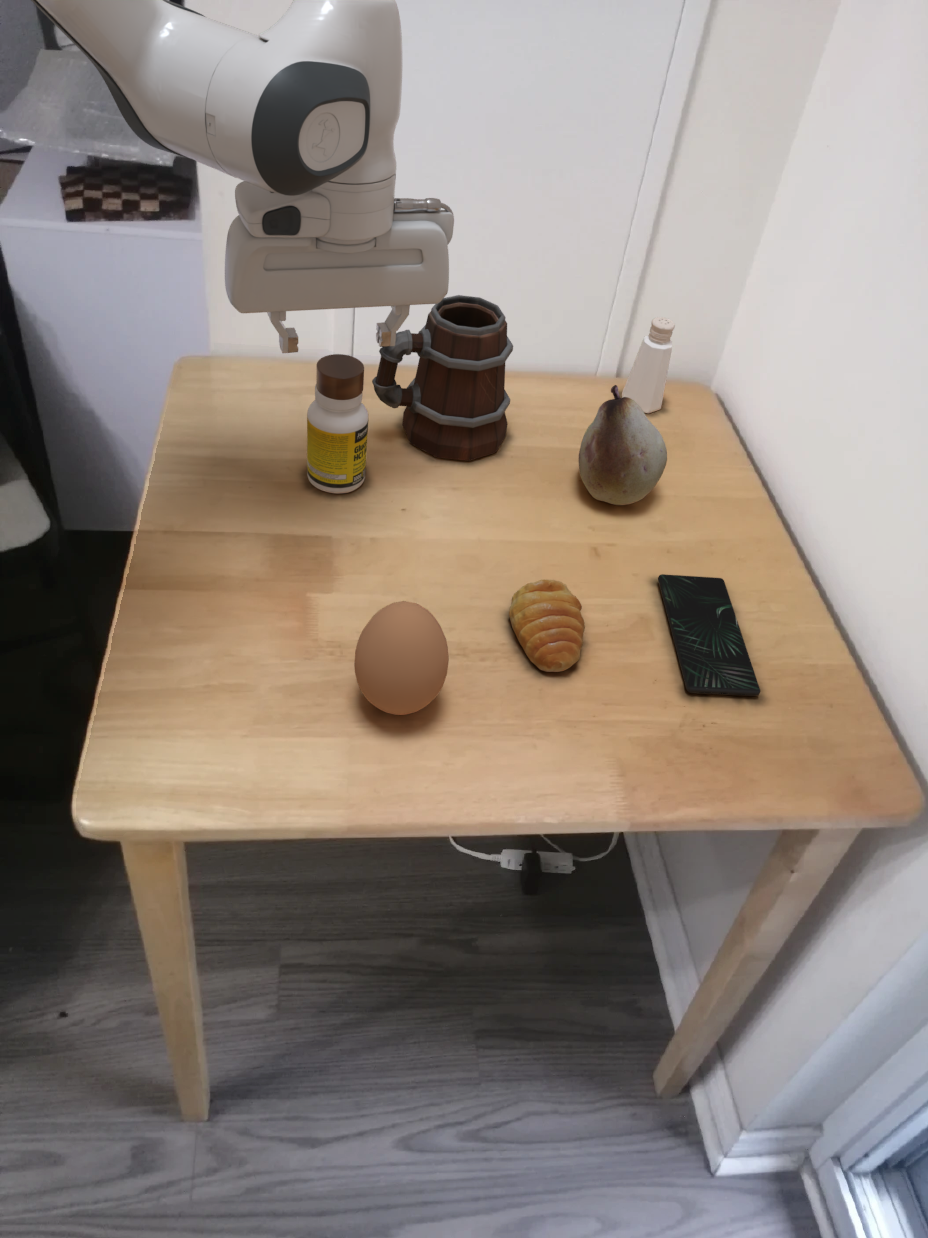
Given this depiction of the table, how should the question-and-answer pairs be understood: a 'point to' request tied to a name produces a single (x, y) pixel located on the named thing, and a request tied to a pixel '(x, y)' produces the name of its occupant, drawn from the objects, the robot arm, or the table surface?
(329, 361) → the brown bottle cap
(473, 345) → the mug
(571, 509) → the table surface
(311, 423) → the pill bottle
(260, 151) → the robot arm
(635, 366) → the pepper shaker
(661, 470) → the fruit
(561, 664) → the pastry
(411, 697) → the egg
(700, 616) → the smartphone
